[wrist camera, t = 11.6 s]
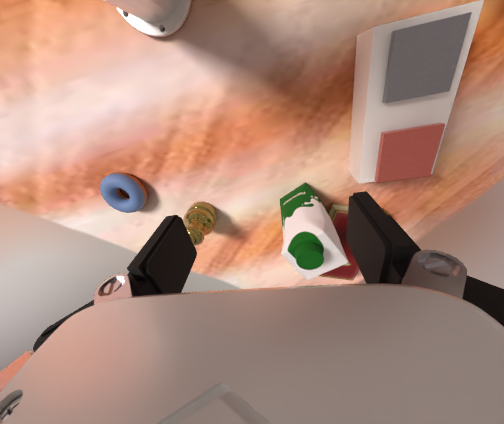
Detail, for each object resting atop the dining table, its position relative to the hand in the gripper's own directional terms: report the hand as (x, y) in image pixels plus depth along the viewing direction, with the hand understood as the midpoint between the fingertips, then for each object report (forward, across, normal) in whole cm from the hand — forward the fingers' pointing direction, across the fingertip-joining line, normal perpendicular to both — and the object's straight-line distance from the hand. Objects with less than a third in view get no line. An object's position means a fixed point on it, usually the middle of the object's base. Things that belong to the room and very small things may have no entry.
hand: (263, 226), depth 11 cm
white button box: (+32, -21, +1) cm, 39 cm away
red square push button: (+30, -21, +7) cm, 38 cm away
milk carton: (+32, -5, +18) cm, 37 cm away
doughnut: (+33, +35, +9) cm, 49 cm away
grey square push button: (+31, -21, -5) cm, 38 cm away
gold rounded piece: (+33, +19, +18) cm, 42 cm away
